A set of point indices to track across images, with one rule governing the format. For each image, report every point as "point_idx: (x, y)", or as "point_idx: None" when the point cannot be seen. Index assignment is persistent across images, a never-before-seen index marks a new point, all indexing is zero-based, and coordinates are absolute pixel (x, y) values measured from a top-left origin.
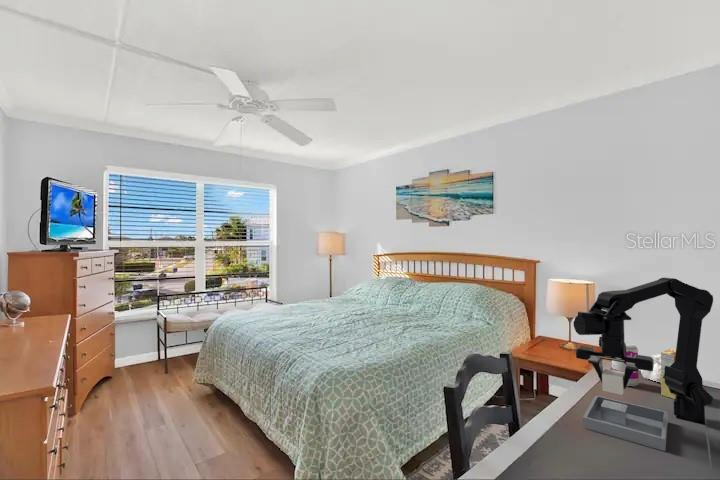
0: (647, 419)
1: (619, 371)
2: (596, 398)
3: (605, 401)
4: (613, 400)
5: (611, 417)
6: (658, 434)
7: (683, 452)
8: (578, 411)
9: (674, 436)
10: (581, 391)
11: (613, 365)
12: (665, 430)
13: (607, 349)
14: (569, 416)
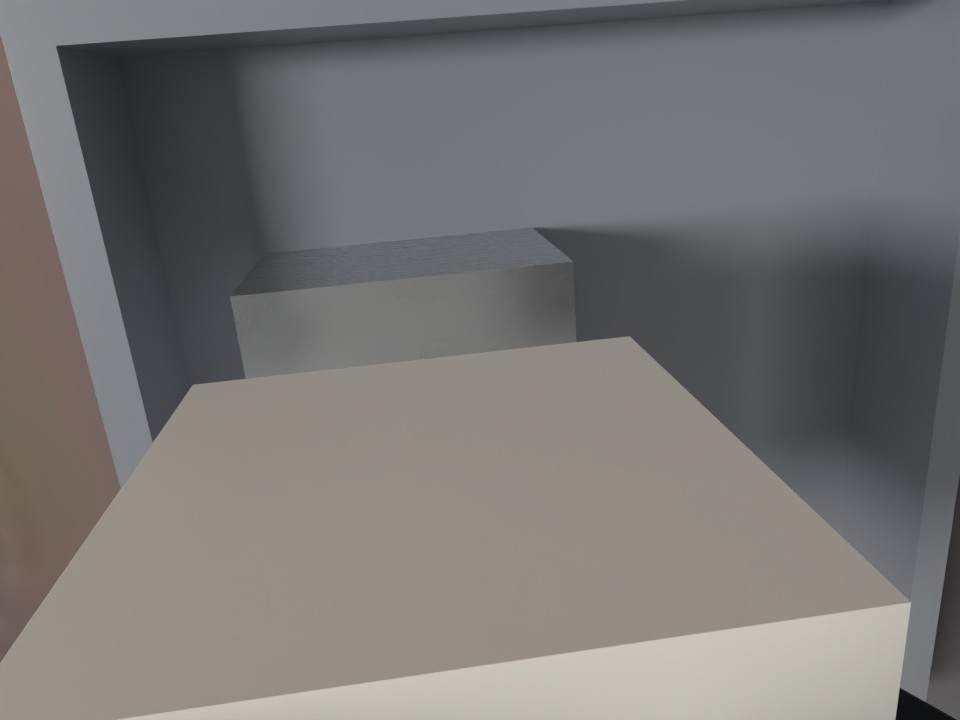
0: (722, 68)
1: (674, 681)
2: (80, 167)
3: (278, 365)
4: (314, 24)
5: None
6: (818, 422)
7: (955, 566)
8: (14, 406)
9: None
10: None
11: None
12: (938, 593)
13: None
14: (20, 614)
